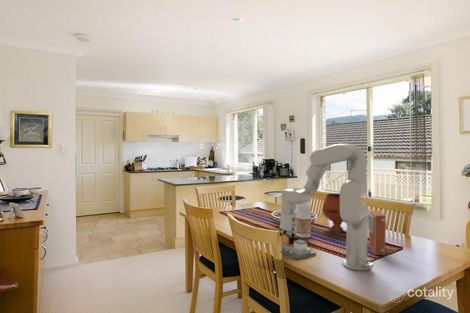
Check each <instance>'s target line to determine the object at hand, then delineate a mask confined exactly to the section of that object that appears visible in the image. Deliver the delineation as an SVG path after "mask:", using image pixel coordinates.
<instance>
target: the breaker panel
mask: <svg viewBox="0 0 470 313" xmlns="http://www.w3.org/2000/svg"><path fill="white" fill-rule="evenodd" d="M280 244H281V250H282V252H281V253H283V254H285V255H287V256H289V257H290V258H293V259H295V260H301V259H306V258H310V257H314V256H317V252H315V251H313V250H312V248H310V247H308V246H307V249H305V250H301V251H299V250H297V249H295V248H294V247H290V246H288V245H286V244H284V243H282V241H280Z"/></svg>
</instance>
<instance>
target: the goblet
mask: <svg viewBox="0 0 470 313" xmlns="http://www.w3.org/2000/svg"><path fill="white" fill-rule="evenodd" d="M322 213H323V214H324V216H325V217H326V218H327V219H328V220H329V221H331V222H332V226H331V227H330V228H329V230H330V231H331V232H335V233H342V232H343V231H344V228H343V227H342V223H343V222H344V221H343V220H342V218H341V216H340V192H339V193H337V192H336V193H327V194H326V197H325V199H324V201H323V204H322ZM344 223H345V222H344Z"/></svg>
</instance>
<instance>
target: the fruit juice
mask: <svg viewBox="0 0 470 313" xmlns="http://www.w3.org/2000/svg"><path fill="white" fill-rule="evenodd" d="M311 209H312V208H311V204H310V202H309V201H308V202H305V203H302V204H296V212H295V214H296V219H297V232H298V233H297V234H296V235H295V236H296V237H298V238H301V239H302V238H303V239H307V238H311V236H312V213H311Z"/></svg>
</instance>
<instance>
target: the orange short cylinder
mask: <svg viewBox="0 0 470 313" xmlns="http://www.w3.org/2000/svg"><path fill="white" fill-rule="evenodd" d="M291 234H292V232H291ZM289 237H290V234H289V232H288V231H287V232H286V233H283V239H282V238H281V242H282V243H284V244H286V245H288V246H290V247H294V244H289Z"/></svg>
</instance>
